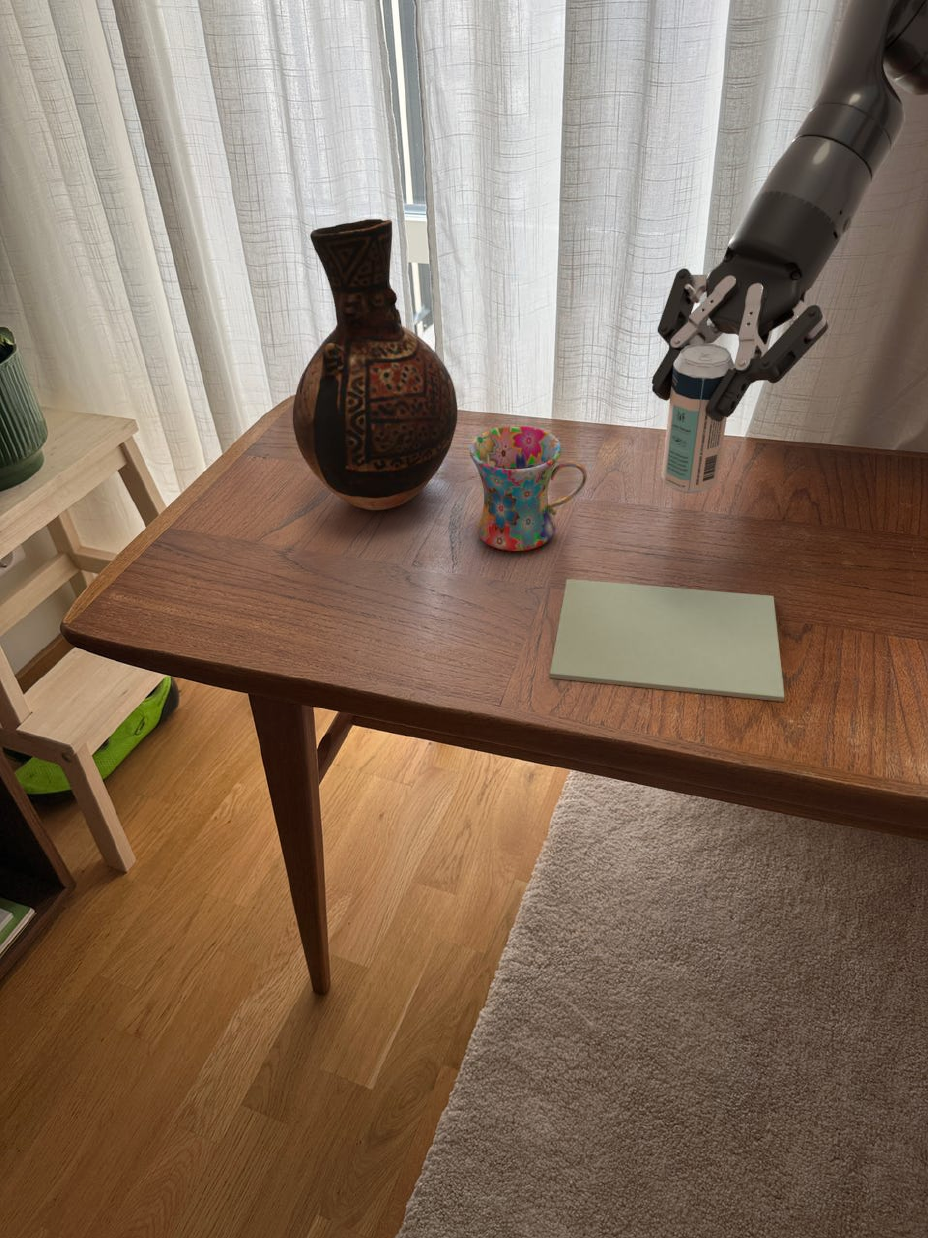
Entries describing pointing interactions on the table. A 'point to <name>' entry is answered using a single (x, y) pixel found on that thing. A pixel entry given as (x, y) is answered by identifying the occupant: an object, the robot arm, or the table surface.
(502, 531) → the mug
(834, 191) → the robot arm
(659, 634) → the mat
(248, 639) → the table surface
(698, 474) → the beer can
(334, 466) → the ceramic vessel
